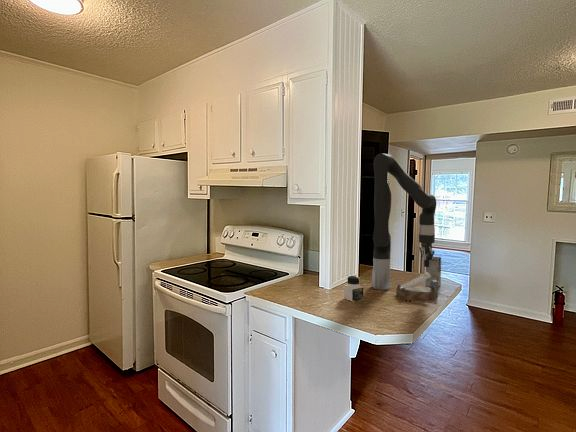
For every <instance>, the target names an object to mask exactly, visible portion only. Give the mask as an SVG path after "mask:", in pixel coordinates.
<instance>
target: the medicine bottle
mask: <svg viewBox="0 0 576 432" xmlns="http://www.w3.org/2000/svg"><path fill="white" fill-rule="evenodd" d="M360 280H361V278H360V277H359V276H358V275H350V276H347V284H345V285H343V299H344V298H345V299H344V300H346V299H347V300H346V301H348V300H350V301H352V302H353V303H356V302H355V301H358V302H361V300H362V301H364V286H362V285H360V284H361V281H360ZM350 301H349V302H350ZM352 302H351V303H352Z"/></svg>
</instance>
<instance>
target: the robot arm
mask: <svg viewBox="0 0 576 432" xmlns="http://www.w3.org/2000/svg"><path fill="white" fill-rule="evenodd" d="M373 172H374V173H373V175H374V188H373V189H374V196H373V210H374V211H373V213H374V227H373V228H374V229H373V233H372V234H373V235H372V240H373V252H372V253H373V254H372V257H373V259H372V262H373V265H372V270H371V271H372V272H371V273H372V274H371V286H372V287H373V289H374V290H382V291H385V290H390V289H391V247H392V246H391V244H392V241H391V240H392V239H391V233H390V229H389V224H390V223H389V222H390V221H389V220H390V216H391V211H392V192H391V191H392V190H391V187H390V185H389V181H388V174H390V175H391V176H392V177H393V178H394V179H395V180H396V182H397V183H398V184H399V186H400V187H401V188H402V190H404V191H405V192H406V194H408V195H409V196H410V197H411V198H412V200H413V201H414V203H415V204H416V205H417V206H418V207H419V208H422V210H421V213H420V214H419V219H418V221H419V225H418V226H419V227H418V243H420V244H421V246H420V247H419V248H418V249H419V252H420V255H421V256H420V257H421V258H422V259H423V267H424V268H426V267H429V260H430V259H432V257H434V255H435V250H433V245H432V244H435V242H436V236H435V235H436V228H435V214H436V209H437V198H436V197H435V195H434V194H431V193H428V194H427V193H426V192H425V191H424V190H423V187H422V186H421V184H419V182H417V181H416V180H415V179H414V178H413V177H411V175H409V174H408V172H406V171H405V170H404V169H403V167H401V165H400V164H399V163H398V161H396V159H395V157H393V156H392V154H389V153H378V154H377V155H376V156H375V157H374V159H373Z"/></svg>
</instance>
